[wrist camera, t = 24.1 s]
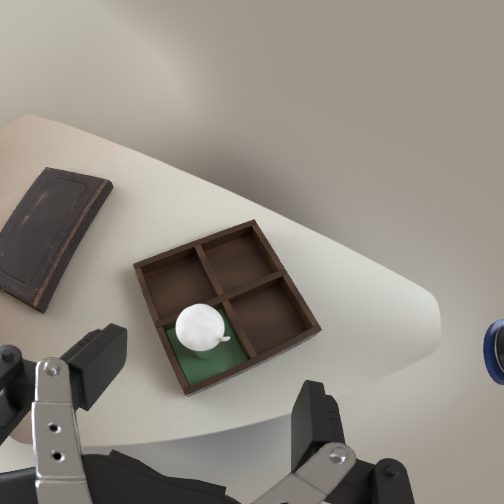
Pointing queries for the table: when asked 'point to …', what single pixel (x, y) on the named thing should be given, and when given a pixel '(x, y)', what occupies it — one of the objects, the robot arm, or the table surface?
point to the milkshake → (200, 330)
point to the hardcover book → (47, 233)
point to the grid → (226, 303)
